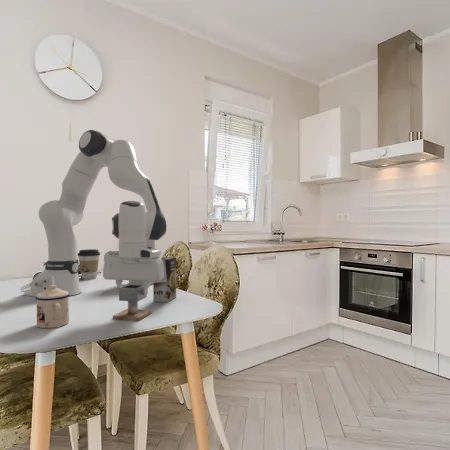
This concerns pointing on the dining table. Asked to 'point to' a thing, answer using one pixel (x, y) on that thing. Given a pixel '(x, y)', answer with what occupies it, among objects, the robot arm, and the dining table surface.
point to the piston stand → (132, 312)
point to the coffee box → (166, 282)
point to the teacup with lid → (52, 308)
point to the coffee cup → (89, 263)
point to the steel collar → (131, 293)
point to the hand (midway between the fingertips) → (133, 293)
